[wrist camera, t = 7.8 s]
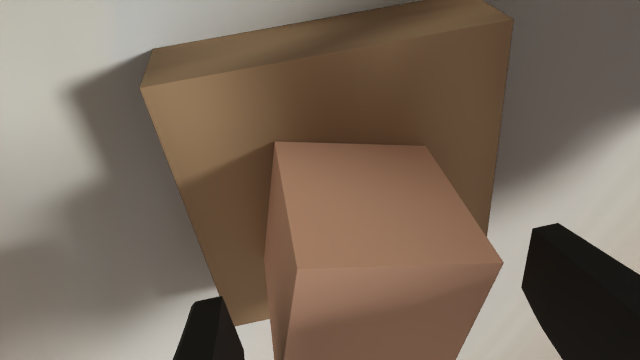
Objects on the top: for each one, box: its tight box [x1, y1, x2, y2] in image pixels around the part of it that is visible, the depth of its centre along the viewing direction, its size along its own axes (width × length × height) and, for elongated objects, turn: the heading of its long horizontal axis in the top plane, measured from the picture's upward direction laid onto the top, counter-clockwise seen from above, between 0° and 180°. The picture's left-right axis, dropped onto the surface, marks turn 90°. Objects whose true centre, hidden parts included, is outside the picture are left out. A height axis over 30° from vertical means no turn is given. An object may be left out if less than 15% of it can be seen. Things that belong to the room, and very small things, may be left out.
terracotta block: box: [264, 142, 503, 360], centre depth 12 cm, size 4×4×4 cm
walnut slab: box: [140, 0, 514, 326], centre depth 15 cm, size 9×9×3 cm
